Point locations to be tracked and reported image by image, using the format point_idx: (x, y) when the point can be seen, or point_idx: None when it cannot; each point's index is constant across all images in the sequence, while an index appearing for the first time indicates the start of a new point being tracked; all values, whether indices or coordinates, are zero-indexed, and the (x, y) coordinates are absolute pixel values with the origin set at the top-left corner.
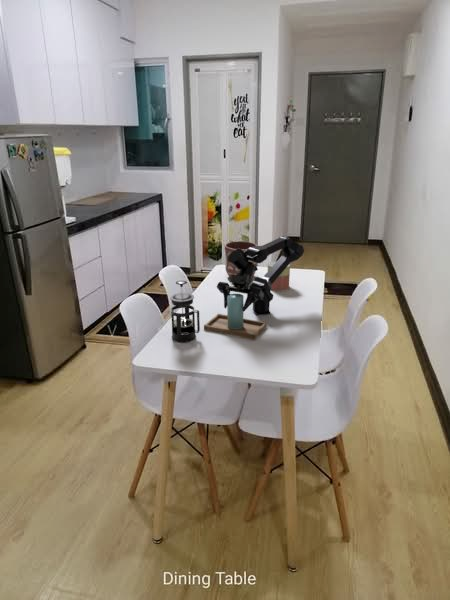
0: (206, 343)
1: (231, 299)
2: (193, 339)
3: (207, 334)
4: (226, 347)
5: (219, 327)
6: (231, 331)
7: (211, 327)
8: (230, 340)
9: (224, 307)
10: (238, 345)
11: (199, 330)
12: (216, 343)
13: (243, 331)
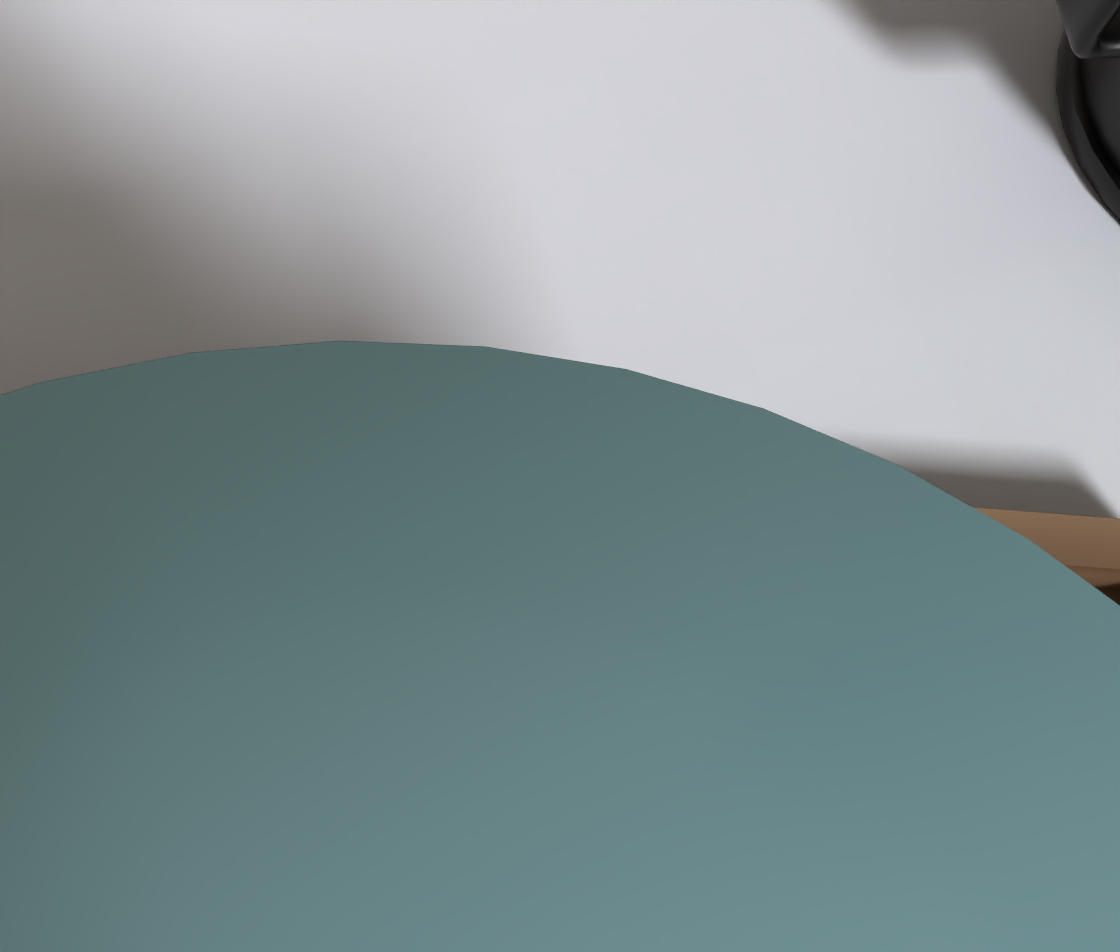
0: (767, 35)
1: (539, 402)
2: (1061, 61)
3: (945, 361)
4: (355, 12)
5: None
6: None
7: (993, 511)
8: (371, 272)
9: None
10: (150, 138)
11: (1076, 16)
12: (593, 86)
13: None
